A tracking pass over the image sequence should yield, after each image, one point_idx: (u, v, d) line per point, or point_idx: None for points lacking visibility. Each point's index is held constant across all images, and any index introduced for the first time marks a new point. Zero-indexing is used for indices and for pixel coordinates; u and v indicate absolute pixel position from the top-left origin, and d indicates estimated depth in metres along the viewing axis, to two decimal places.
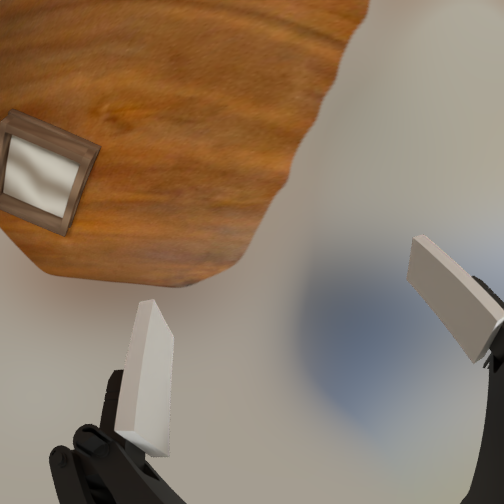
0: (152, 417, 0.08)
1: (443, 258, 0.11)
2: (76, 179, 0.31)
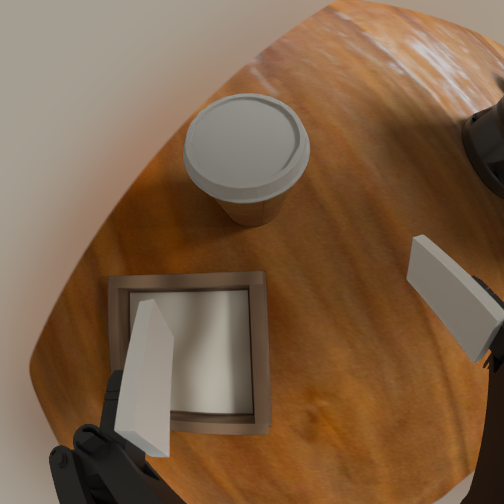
0: (152, 417, 0.08)
1: (443, 258, 0.11)
2: (227, 425, 0.22)
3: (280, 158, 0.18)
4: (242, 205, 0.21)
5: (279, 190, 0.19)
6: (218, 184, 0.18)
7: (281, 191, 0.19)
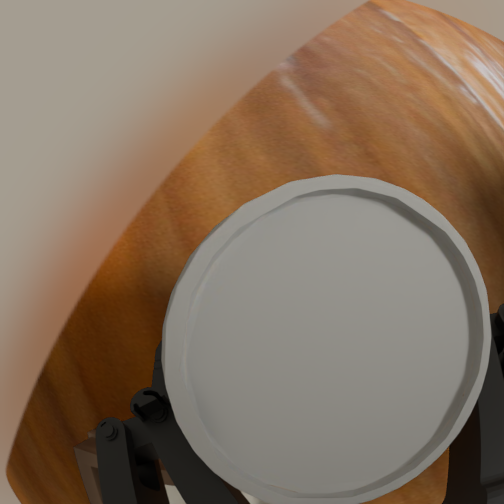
0: None
1: None
2: None
3: (435, 410, 0.05)
4: None
5: None
6: None
7: None
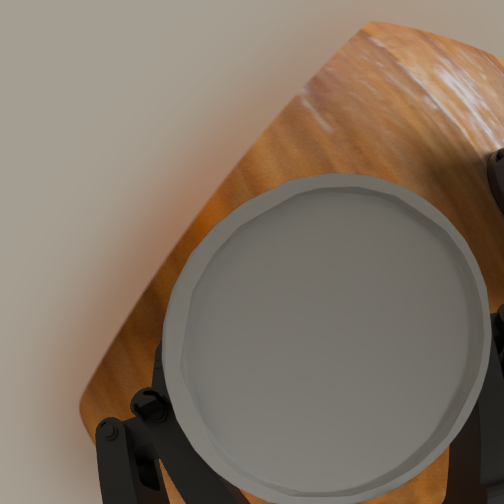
0: None
1: None
2: None
3: (435, 409, 0.05)
4: None
5: None
6: (279, 503, 0.05)
7: None
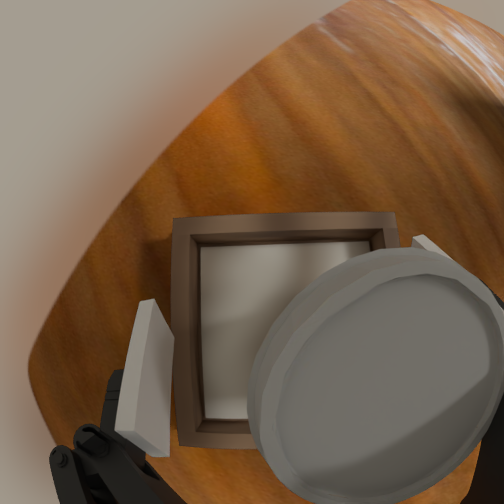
0: (152, 417, 0.08)
1: None
2: None
3: (454, 439, 0.06)
4: None
5: None
6: None
7: None
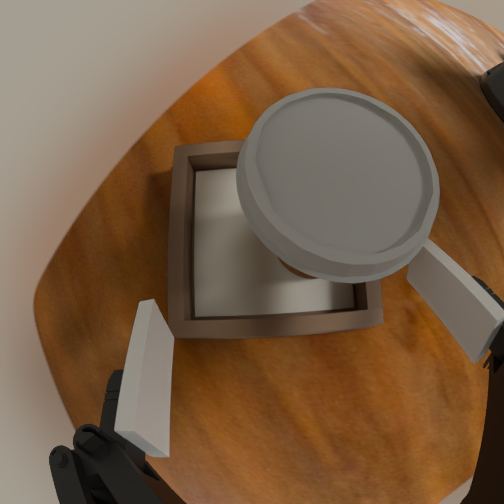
0: (152, 417, 0.08)
1: (443, 258, 0.11)
2: (334, 316, 0.19)
3: (406, 210, 0.10)
4: None
5: (399, 264, 0.10)
6: (310, 253, 0.10)
7: (401, 266, 0.10)
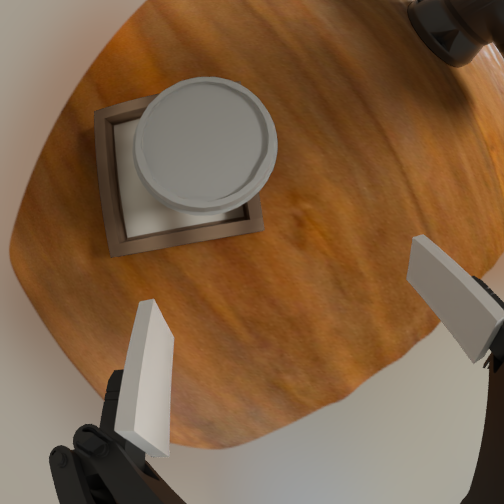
0: (152, 417, 0.08)
1: (443, 258, 0.11)
2: (223, 226, 0.26)
3: (245, 166, 0.17)
4: None
5: (243, 200, 0.18)
6: (177, 203, 0.16)
7: (245, 201, 0.18)
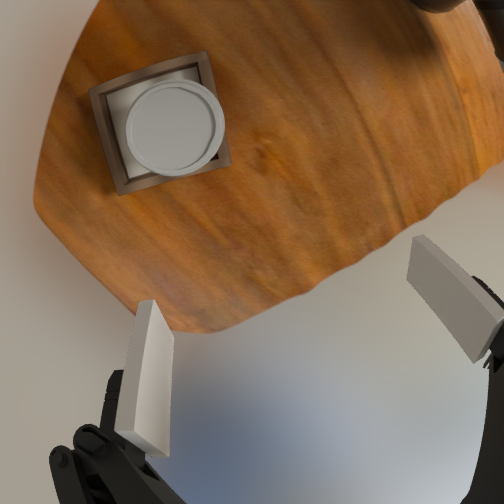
0: (152, 417, 0.08)
1: (443, 258, 0.11)
2: None
3: (201, 144, 0.24)
4: None
5: (203, 163, 0.25)
6: (160, 173, 0.24)
7: (204, 164, 0.26)
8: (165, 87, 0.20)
